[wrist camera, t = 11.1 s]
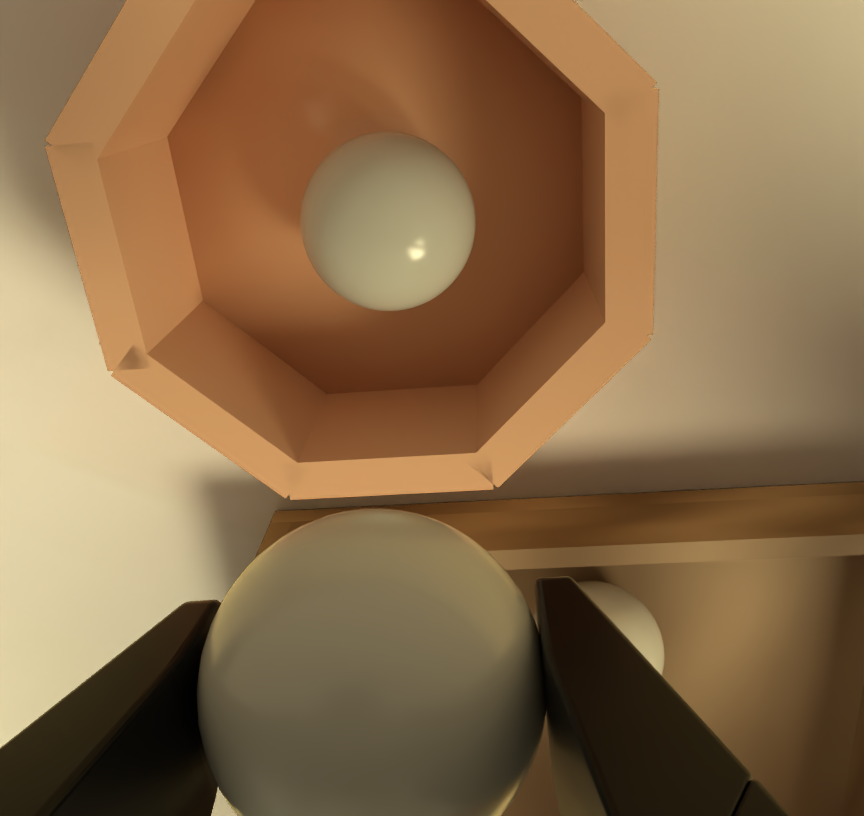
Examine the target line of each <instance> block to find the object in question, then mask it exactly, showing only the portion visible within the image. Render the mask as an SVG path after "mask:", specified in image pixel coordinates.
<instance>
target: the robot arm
mask: <svg viewBox="0 0 864 816" xmlns="http://www.w3.org/2000/svg"><path fill="white" fill-rule="evenodd" d="M534 588H535V602H536V615H537V628H538V631H539V635H540V642H541V651H542V660H543V670H544V682H545V694H546V721H547V731H548V741H549V750H550V760H551V768H552V775H553V783H554V788H555V793H556V798H557V803H558V808H559V812H560V816H790V815H789V814H788V813H787V812H786V811H785V810H784V809H783V808H782V806H781V805H780V804H779V803H778V802H777V801H776V800H775V799H774V798H773V796H772V795H771V794H770V793H769V792H768V791H767V790H766V789H765V788H764V786H763V785H762V784H761V783H760V782H759V781H757V780H753V776H752V774H751V773H750V772H749V771H748V769H747V768H746V767H745V766H744V765H743V764H742V763H741V762H740V761H739V760H738V758H737V757H736V756H735V755H734V754H733V753H732V752H731V751H730V750H729V749H728V748H727V746H726V745H725V744H724V743H723V742H722V741H721V740H720V739H719V738H718V737H717V736H716V734H715V733H714V732H713V731H712V730H711V729H710V728H709V727H708V726H707V725H706V723H705V722H704V721H703V720H702V719H701V718H700V717H699V716H698V715H697V714H696V713H695V711H694V710H693V709H692V708H691V707H690V706H689V705H688V704H687V703H686V702H685V701H684V699H683V698H682V697H681V696H680V695H679V694H678V693H677V692H676V691H675V690H674V688H673V687H672V686H671V685H670V684H669V683H668V682H667V681H666V680H665V679H664V678H663V676H662V675H661V674H660V673H659V672H658V671H657V670H656V669H655V668H654V667H653V666H652V664H651V663H650V662H649V661H648V660H647V659H646V658H645V657H644V656H643V655H642V654H641V652H640V651H639V650H638V649H637V648H636V647H635V646H634V645H633V644H632V643H631V641H630V640H629V639H628V638H627V637H626V636H625V635H624V634H623V633H622V632H621V631H620V629H619V628H618V627H617V626H616V625H615V624H614V623H613V622H612V621H611V620H610V619H609V617H608V616H607V615H606V614H605V613H604V612H603V611H602V610H601V609H600V608H599V606H598V605H597V604H596V603H595V602H594V601H593V600H592V599H591V598H590V597H589V596H588V594H587V593H586V592H585V591H584V590H583V589H582V588H581V587H580V586H579V585H578V584H577V582H576V581H575V580H574V579H573V578H571V577H569V576H560V577H546V578H538V579H537V580H536V581H535V584H534ZM220 605H221V602H219V601H217V600H204V601H190V602H186V603H184V604H182V605H181V606H179V607H178V608H177V609H176V610H174V611H173V612H172V613H171V614H169V615H168V616H167V617H165V618H164V619H163V620H162V621H160V622H159V623H158V624H157V625H155V626H154V627H153V628H152V629H150V630H149V631H148V632H147V633H145V634H144V635H143V636H141V637H140V638H139V639H138V640H136V641H135V642H134V643H133V644H131V645H130V646H129V647H128V648H126V649H125V650H124V651H123V652H121V653H120V654H119V655H117V656H116V657H115V658H114V659H112V660H111V661H110V662H109V663H107V664H106V665H105V666H104V667H102V668H101V669H100V670H99V671H97V672H96V673H95V674H93V675H92V676H91V677H90V678H88V679H87V680H86V681H85V682H83V683H82V684H81V685H80V686H78V687H77V688H76V689H74V690H73V691H72V692H71V693H69V694H68V695H67V696H66V697H64V698H63V699H62V700H61V701H59V702H58V703H57V704H56V705H54V706H53V707H52V708H50V709H49V710H48V711H47V712H45V713H44V714H43V715H42V716H40V717H39V718H38V719H37V720H35V721H34V722H33V723H32V724H30V725H29V726H28V727H26V728H25V729H24V730H23V731H21V732H20V733H19V734H18V735H16V736H15V737H14V738H13V739H11V740H10V741H9V742H7V743H6V744H5V745H4V746H2V747H1V748H0V816H211V813H212V809H213V805H214V802H215V798H216V793H217V788H218V785H217V783H216V781H215V778H214V776H213V774H212V772H211V769H210V767H209V764H208V762H207V760H206V756H205V752H204V748H203V743H202V739H201V735H200V730H199V726H198V711H197V683H198V675H199V667H200V660H201V654H202V651H203V648H204V645H205V641H206V638H207V635H208V632H209V629H210V626H211V623H212V621H213V619H214V617H215V615H216V613H217V611H218V609H219V607H220Z"/></svg>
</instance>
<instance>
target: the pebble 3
mask: <svg viewBox="0 0 864 816" xmlns="http://www.w3.org/2000/svg"><path fill="white" fill-rule="evenodd" d="M577 584H578V585H579V586H580V587H581V588H582V589H583V590H584V591H585V592H586V593H587V594H588V596H589V597H590V598H591V599H592V600H593V601H594V602H595V603H596V604H597V605H598V606H599V608H600V609H601V610H602V611H603V612H604V613H605V614H606V615H607V616H608V617H609V619H610V620H611V621H612V622H613V623H614V624H615V625H616V626H617V627H618V628H619V629H620V631H621V632H622V633H623V634H624V635H625V636H626V637H627V638H628V639H629V640H630V641H631V643H632V644H633V645H634V646H635V647H636V648H637V649H638V650H639V651H640V652H641V654H642V655H643V656H644V657H645V658H646V659H647V660H648V661H649V662H650V663H651V664H652V666H653V667H654V668H655V669H656V670H657V671H658V672H659V673H660V674H661V675H662V673H663V668H664V645H663V640H662V635H661V632H660V630H659V627H658V625H657V623H656V621H655V619H654V617H653V616H652V614H651V613H650V611H649V610H648V609H647V607H646V606H645V605H644V604H643V603H642V602H641V601H640V600H639V599H638V598H636V597H635V596H634V595H632V594H631V593H629V592H628V591H626V590H625V589H623V588H621V587H619V586H616V585H613V584H610V583H606V582H601V581H581V582H577ZM533 617H534V620H535V622H536V625H537V615H536V611H535V613H534V615H533Z"/></svg>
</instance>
